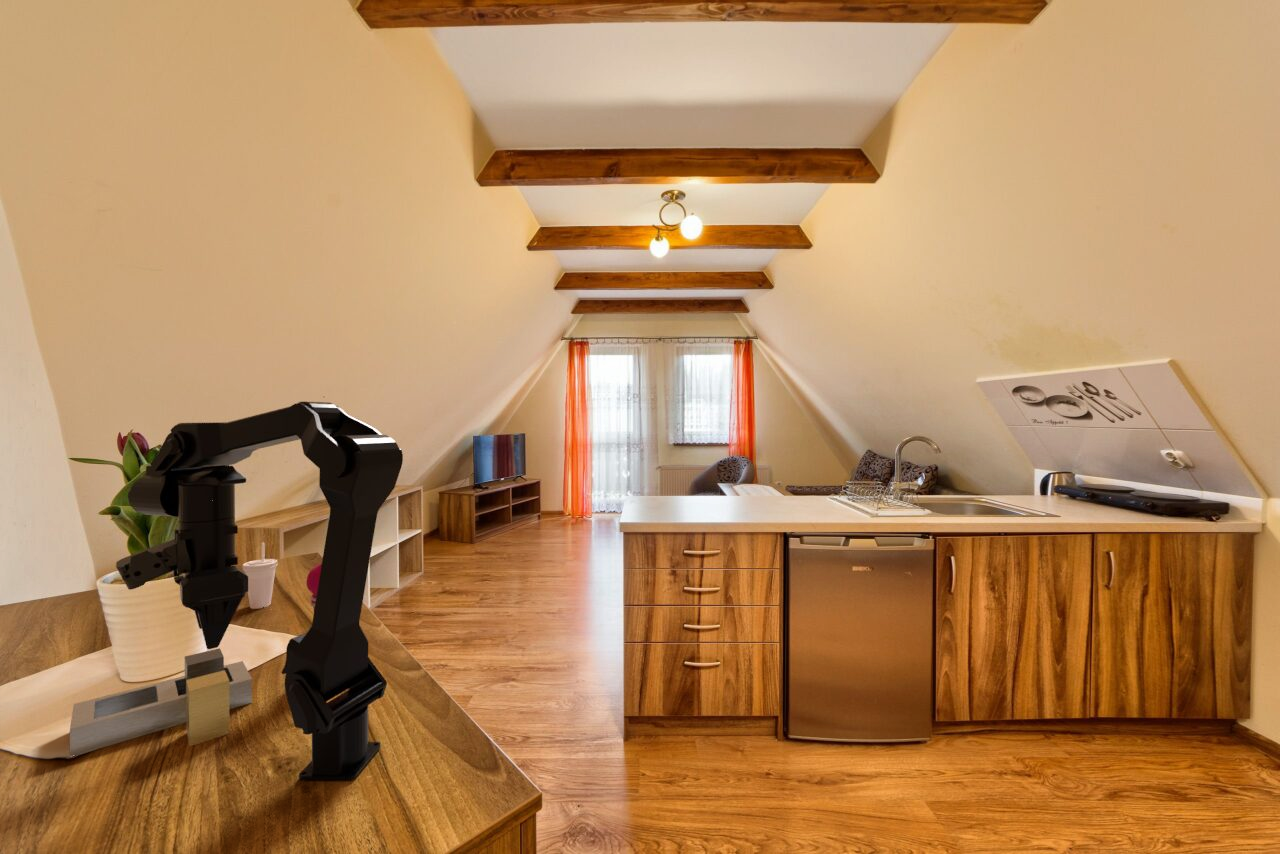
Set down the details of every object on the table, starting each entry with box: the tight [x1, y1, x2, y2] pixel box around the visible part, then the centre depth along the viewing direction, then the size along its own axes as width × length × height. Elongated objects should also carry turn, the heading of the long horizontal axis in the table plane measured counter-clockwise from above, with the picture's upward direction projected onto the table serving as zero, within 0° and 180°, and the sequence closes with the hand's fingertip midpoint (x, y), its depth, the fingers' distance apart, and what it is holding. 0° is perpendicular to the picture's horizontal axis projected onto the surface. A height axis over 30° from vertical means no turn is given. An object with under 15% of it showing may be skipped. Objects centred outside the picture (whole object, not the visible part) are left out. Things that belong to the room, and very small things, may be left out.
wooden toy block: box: [185, 670, 230, 747], centre depth 69 cm, size 4×4×7 cm
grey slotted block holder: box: [69, 648, 253, 757], centre depth 73 cm, size 18×8×7 cm, turn 135°
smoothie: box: [241, 541, 279, 610], centre depth 118 cm, size 6×6×14 cm
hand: (208, 637), depth 69 cm, fingers open, 9 cm apart
